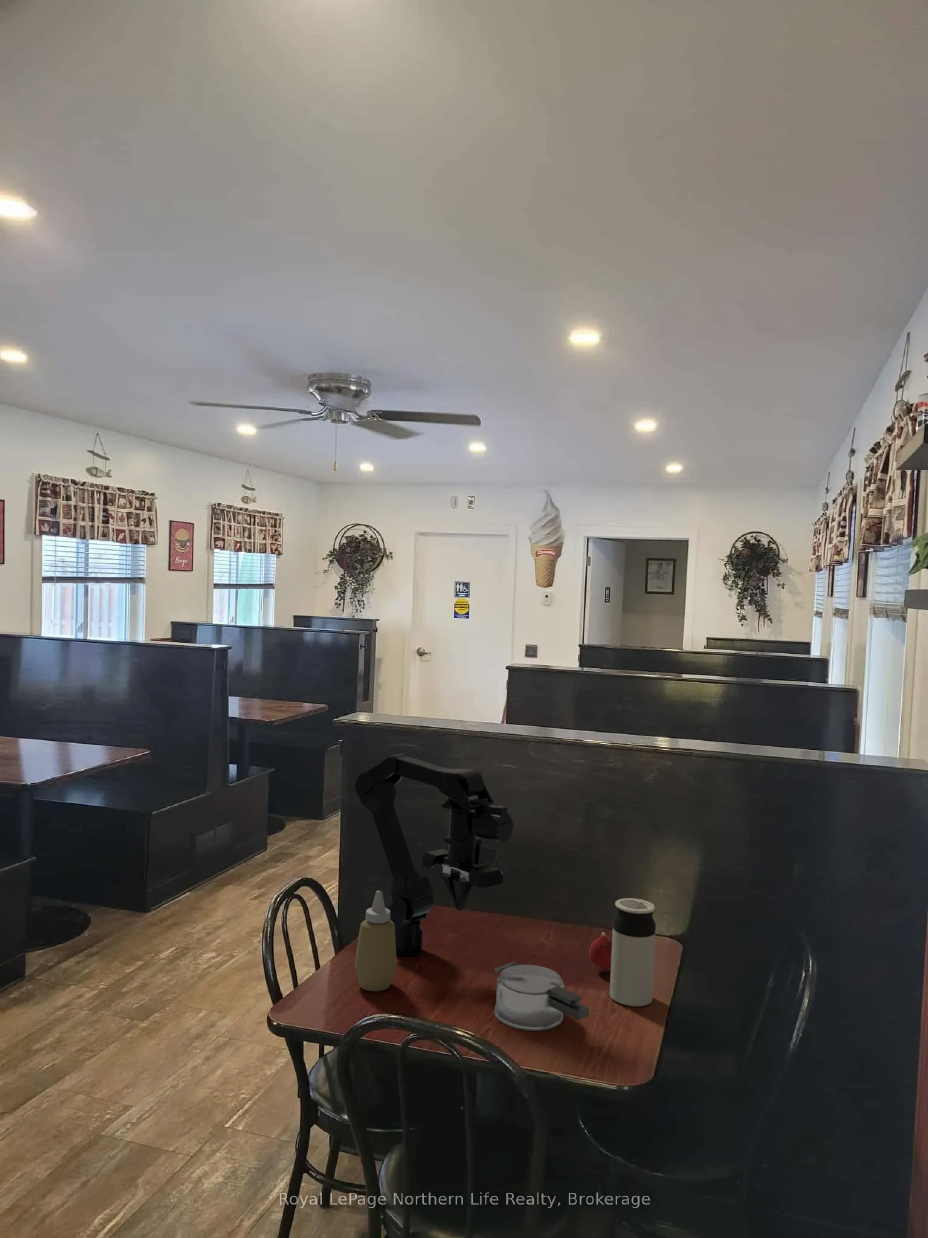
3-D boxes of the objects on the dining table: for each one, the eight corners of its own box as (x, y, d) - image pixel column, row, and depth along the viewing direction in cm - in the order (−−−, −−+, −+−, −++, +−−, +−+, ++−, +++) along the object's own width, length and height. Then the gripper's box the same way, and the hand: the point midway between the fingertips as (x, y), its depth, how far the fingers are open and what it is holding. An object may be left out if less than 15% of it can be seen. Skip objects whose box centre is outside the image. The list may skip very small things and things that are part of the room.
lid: (482, 975, 155) (482, 971, 155) (523, 961, 163) (523, 957, 163) (554, 1011, 142) (554, 1007, 142) (595, 994, 150) (596, 990, 150)
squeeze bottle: (402, 981, 165) (406, 889, 165) (385, 998, 158) (389, 901, 158) (364, 974, 168) (369, 883, 168) (346, 990, 160) (350, 894, 160)
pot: (480, 1011, 154) (481, 978, 154) (527, 993, 162) (529, 962, 162) (558, 1053, 140) (559, 1017, 140) (605, 1032, 149) (607, 997, 149)
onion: (622, 972, 174) (624, 933, 174) (606, 980, 170) (608, 940, 170) (598, 964, 178) (600, 925, 178) (582, 971, 174) (584, 932, 174)
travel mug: (625, 1010, 157) (629, 913, 157) (601, 992, 165) (605, 899, 165) (660, 1004, 160) (665, 909, 160) (635, 987, 168) (640, 896, 168)
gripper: (523, 837, 171) (520, 915, 171) (462, 819, 185) (459, 891, 185) (483, 845, 163) (479, 926, 163) (422, 825, 177) (419, 900, 177)
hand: (459, 910), depth 172 cm, fingers closed
